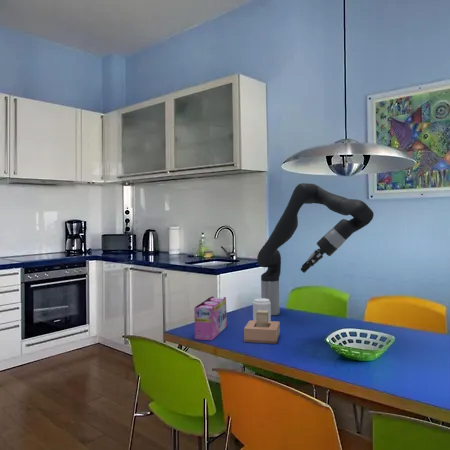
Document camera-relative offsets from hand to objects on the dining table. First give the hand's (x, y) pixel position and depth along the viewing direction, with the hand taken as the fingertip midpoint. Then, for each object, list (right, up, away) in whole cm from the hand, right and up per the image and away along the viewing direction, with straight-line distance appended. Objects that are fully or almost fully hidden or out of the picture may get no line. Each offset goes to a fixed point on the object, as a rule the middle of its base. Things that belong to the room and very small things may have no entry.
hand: (302, 269), depth 174 cm
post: (-16, -28, +3) cm, 32 cm away
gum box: (-38, -29, +13) cm, 49 cm away
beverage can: (-15, -28, +22) cm, 39 cm away
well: (-16, -29, +3) cm, 33 cm away
